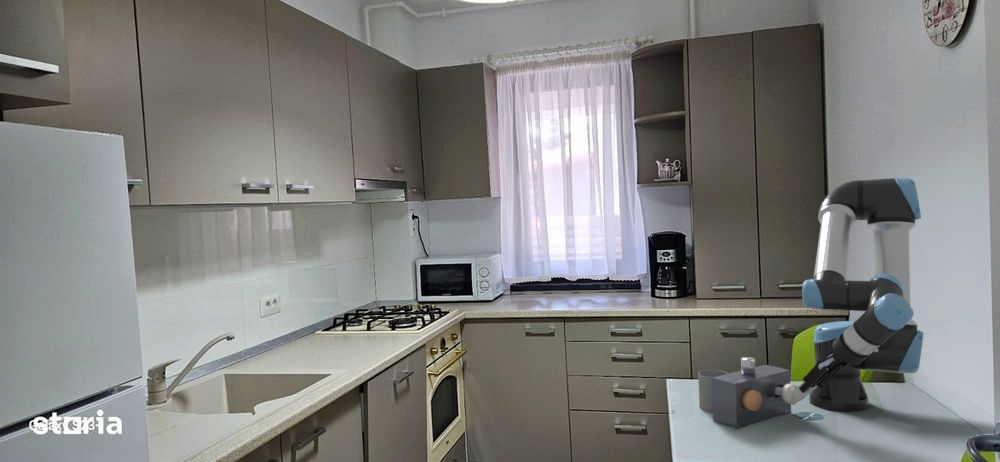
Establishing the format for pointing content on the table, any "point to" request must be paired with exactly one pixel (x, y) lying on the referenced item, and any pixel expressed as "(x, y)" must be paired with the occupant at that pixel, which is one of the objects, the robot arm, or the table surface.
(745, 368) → the dial
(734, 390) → the grey puzzle box
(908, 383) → the table surface
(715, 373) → the cup
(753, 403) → the knob
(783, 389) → the knob
